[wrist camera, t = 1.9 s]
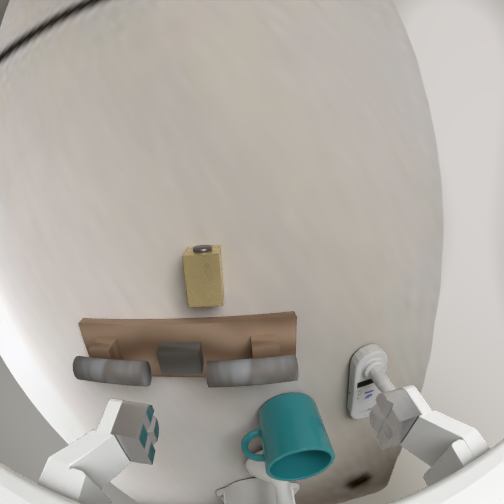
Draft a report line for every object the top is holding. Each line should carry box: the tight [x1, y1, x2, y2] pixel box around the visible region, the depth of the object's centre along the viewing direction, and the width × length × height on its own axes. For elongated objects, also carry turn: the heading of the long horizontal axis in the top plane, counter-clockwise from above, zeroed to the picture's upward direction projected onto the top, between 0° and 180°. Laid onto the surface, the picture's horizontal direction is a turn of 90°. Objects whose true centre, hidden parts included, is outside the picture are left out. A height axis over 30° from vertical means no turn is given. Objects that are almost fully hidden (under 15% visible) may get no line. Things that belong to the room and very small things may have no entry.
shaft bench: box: [73, 311, 298, 387], centre depth 30 cm, size 8×28×8 cm, turn 93°
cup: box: [241, 393, 335, 481], centre depth 32 cm, size 9×12×11 cm
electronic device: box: [347, 344, 395, 419], centre depth 33 cm, size 5×10×15 cm
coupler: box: [182, 245, 224, 307], centre depth 29 cm, size 4×6×4 cm, turn 3°
